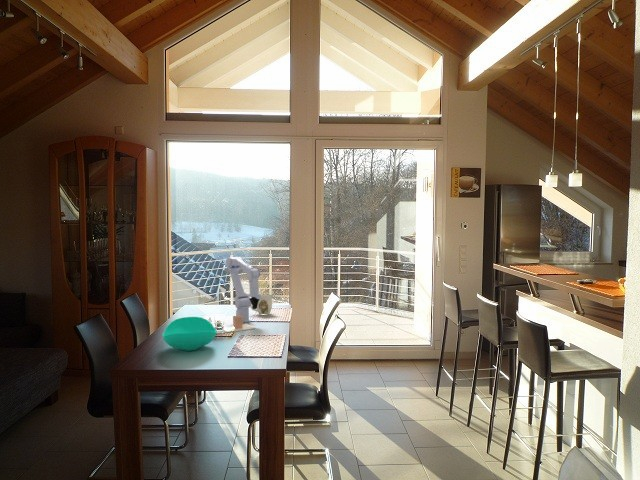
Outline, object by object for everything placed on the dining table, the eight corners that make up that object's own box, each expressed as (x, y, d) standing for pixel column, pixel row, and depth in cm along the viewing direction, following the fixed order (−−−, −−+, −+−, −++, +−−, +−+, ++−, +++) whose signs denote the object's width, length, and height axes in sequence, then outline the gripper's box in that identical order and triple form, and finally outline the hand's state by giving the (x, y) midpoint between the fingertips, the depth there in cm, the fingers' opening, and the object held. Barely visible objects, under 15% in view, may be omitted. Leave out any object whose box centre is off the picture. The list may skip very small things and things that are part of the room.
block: (233, 327, 308) (232, 316, 308) (240, 326, 310) (239, 315, 310) (235, 328, 304) (235, 317, 304) (242, 327, 307) (242, 316, 306)
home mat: (219, 328, 309) (219, 327, 309) (246, 324, 318) (246, 323, 318) (227, 332, 297) (227, 331, 297) (255, 328, 306) (255, 327, 306)
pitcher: (251, 313, 354) (250, 294, 353) (276, 312, 355) (275, 293, 354) (249, 316, 343) (248, 296, 342) (275, 315, 344) (274, 296, 343)
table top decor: (219, 357, 248) (218, 330, 247) (161, 362, 240) (160, 335, 239) (214, 337, 286) (213, 315, 285) (164, 341, 278) (163, 318, 277)
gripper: (264, 288, 311) (265, 309, 311) (255, 286, 323) (256, 306, 324) (254, 289, 307) (254, 311, 308) (245, 287, 320) (245, 307, 320)
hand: (254, 309), depth 316 cm, fingers closed
